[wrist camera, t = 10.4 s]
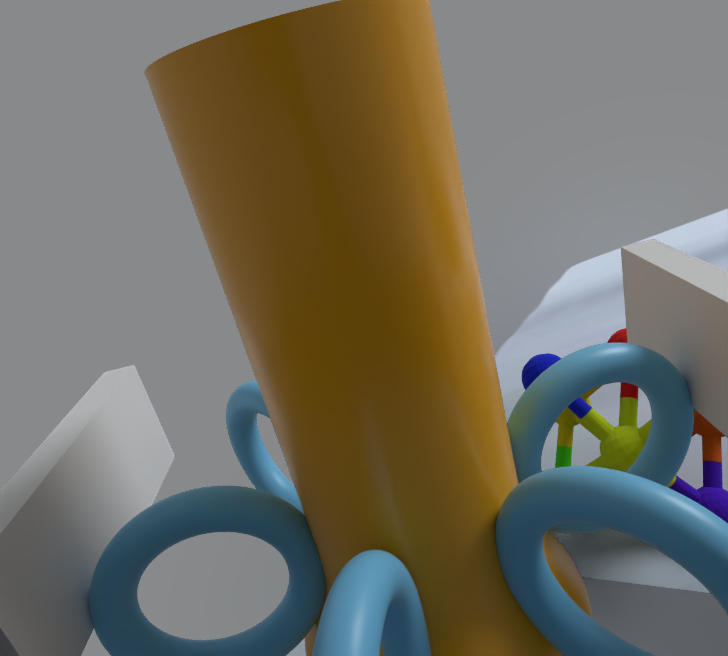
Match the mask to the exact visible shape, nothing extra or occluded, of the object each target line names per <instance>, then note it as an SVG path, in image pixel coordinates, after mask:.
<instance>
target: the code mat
mask: <svg viewBox="0 0 728 656" xmlns="http://www.w3.org/2000/svg"><path fill="white" fill-rule="evenodd" d="M582 579H583V581H584V584H585V587H586V590H587V593H588V597H589V602H590V606H591V611H592V617H593V619H594V620H595V621H596V622H597V623H599V624H600V625H601V626H603V627H604V628H605V629H607V630H608V631H610V632H611V633H613V634H614V635H616V636H618V637H619V638H621V639H623V640H624V641H626V642H628V643H630V644H632V645H634V646H636V647H638V648H640V649H642V650H644V651H646V652H649V653H651V654H654V655H656V656H728V616H727V614H726V612H725V611H724V609H723V608H722V606H721V605H720V604H719V602H718V601H717V600H716V599H715V597H714V596H713V595H712V594H711V593H704V592H696V591H688V590H680V589H672V588H664V587H656V586H648V585H640V584H632V583H624V582H616V581H608V580H600V579H592V578H584V577H582Z"/></svg>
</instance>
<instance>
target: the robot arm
mask: <svg viewBox="0 0 728 656" xmlns="http://www.w3.org/2000/svg"><path fill="white" fill-rule="evenodd" d="M621 257H622V271H623V285H624V299H625V314H626V328H627V342H628V343H630V344H636V345H640V346H643V347H646V348H649V349H651V350H653V351H655V352H657V353H659V354H661V355H662V356H664V357H665V358H666V359H668V360H669V361H670V362H671V363H672V364H673V365H674V366H675V367H676V368H677V369H678V371H679V372H680V373H681V375H682V376H683V378H684V380H685V382H686V384H687V386H688V388H689V392H690V396H691V402H692V407H693V408H694V409H695V410H696V411H698V412H699V413H700V414H701V415H702V416H703V417H704V418H706V419H707V420H708V421H709V422H710V423H711V424H712V425H714V426H715V427H716V428H717V429H718V430H719V431H720V432H722V433H723V434H724V435H725V436H726V437H727V438H728V271H725V270H723V269H721V268H718V267H716V266H714V265H712V264H709V263H707V262H705V261H703V260H700V259H698V258H696V257H693V256H691V255H689V254H687V253H684V252H682V251H680V250H677V249H675V248H673V247H671V246H668V245H666V244H664V243H662V242H659V241H657V240H655V239H652V240H647V241H643V242H639V243H635V244H631V245H627V246H623V247H621ZM174 457H175V456H174V453H173V451H172V449H171V447H170V444H169V442H168V440H167V438H166V435H165V433H164V431H163V429H162V426H161V424H160V422H159V420H158V417H157V415H156V413H155V411H154V408H153V406H152V404H151V402H150V400H149V397H148V395H147V393H146V390H145V388H144V386H143V384H142V382H141V379H140V377H139V375H138V373H137V370H136V368H135V366H134V365H132V366H128V367H123V368H119V369H115V370H111V371H107V372H104V374H103V375H102V376H101V377H100V378H99V379H98V380H97V381H96V383H95V384H94V385H93V386H92V387H91V388H90V389H89V390H88V392H87V393H86V394H85V395H84V396H83V397H82V398H81V399H80V401H79V402H78V403H77V404H76V405H75V406H74V408H73V409H72V410H71V411H70V412H69V413H68V414H67V416H66V417H65V418H64V419H63V420H62V421H61V422H60V423H59V425H58V426H57V427H56V428H55V429H54V430H53V431H52V433H51V434H50V435H49V436H48V437H47V438H46V439H45V440H44V442H43V443H42V444H41V445H40V446H39V447H38V448H37V450H36V451H35V452H34V453H33V454H32V455H31V457H30V458H29V459H28V460H27V461H26V462H25V463H24V464H23V465H22V467H21V468H20V469H19V470H18V471H17V472H16V473H15V475H14V476H13V477H12V478H11V479H10V480H9V481H8V483H7V484H6V485H5V486H4V487H3V488H2V489H1V490H0V656H81V654H82V652H83V650H84V648H85V646H86V644H87V641H88V639H89V637H90V635H91V633H92V631H93V629H94V626H93V623H92V620H91V615H90V608H89V593H90V585H91V581H92V577H93V573H94V570H95V568H96V565H97V563H98V561H99V559H100V557H101V555H102V553H103V551H104V550H105V548H106V547H107V545H108V544H109V542H110V541H111V540H112V538H113V537H114V536H115V535H116V534H117V532H118V531H119V530H120V529H121V528H122V527H123V526H124V525H125V524H127V523H128V522H129V521H130V520H131V519H132V518H134V517H135V516H136V515H138V514H139V513H140V512H142V511H143V510H145V509H146V508H148V507H150V506H152V504H153V501H154V499H155V497H156V495H157V493H158V491H159V489H160V487H161V485H162V482H163V480H164V478H165V476H166V474H167V472H168V470H169V467H170V465H171V463H172V461H173V459H174Z"/></svg>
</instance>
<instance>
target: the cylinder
mask: <svg viewBox="0 0 728 656" xmlns="http://www.w3.org/2000/svg"><path fill="white" fill-rule="evenodd" d="M145 75H146V78H147V80H148V83H149V86H150V89H151V91H152V94H153V97H154V100H155V102H156V105H157V108H158V111H159V113H160V116H161V119H162V121H163V124H164V127H165V129H166V132H167V135H168V138H169V141H170V143H171V146H172V149H173V152H174V154H175V157H176V160H177V163H178V165H179V168H180V171H181V174H182V176H183V179H184V182H185V185H186V187H187V190H188V193H189V195H190V198H191V201H192V204H193V206H194V209H195V212H196V215H197V218H198V220H199V223H200V226H201V229H202V231H203V234H204V237H205V240H206V242H207V245H208V248H209V251H210V253H211V256H212V259H213V262H214V264H215V267H216V270H217V273H218V275H219V278H220V281H221V283H222V286H223V289H224V292H225V295H226V297H227V300H228V303H229V306H230V308H231V311H232V314H233V317H234V320H235V322H236V325H237V328H238V330H239V333H240V336H241V339H242V342H243V344H244V347H245V350H246V352H247V355H248V358H249V361H250V364H251V366H252V369H253V372H254V375H255V377H256V380H255V381H250V382H247V383H244V384H243V385H241V386H239V387H238V388H237V389H236V390H235V391H234V392H233V394H232V395H231V397H230V399H229V402H228V405H227V410H226V423H227V429H228V434H229V438H230V441H231V444H232V447H233V449H234V452H235V454H236V456H237V458H238V460H239V462H240V464H241V466H242V468H243V469H244V471H245V473H246V474H247V476H248V478H249V479H250V480H251V482H252V483H253V484H254V486H255V488H256V489H252V488H247V487H239V486H211V487H203V488H198V489H193V490H189V491H185V492H182V493H179V494H176V495H173V496H170V497H168V498H165V499H163V500H161V501H159V502H157V503H155V504H153V505H152V506H150V507H148V508H146V509H145V510H143V511H142V512H140V513H139V514H138V515H136V516H135V517H134V518H132V519H131V520H130V521H129V522H128V523H127V524H125V525H124V526H123V527H122V528H121V529H120V530H119V531H118V532H117V534H116V535H115V536H114V537H113V538H112V540H111V541H110V542H109V544H108V545H107V547H106V548H105V550H104V551H103V553H102V555H101V557H100V559H99V561H98V563H97V565H96V568H95V570H94V573H93V577H92V581H91V585H90V593H89V608H90V615H91V620H92V623H93V626H94V629H95V632H96V634H97V636H98V638H99V640H100V641H101V643H102V645H103V646H104V647H105V649H106V650H107V651H108V652H109V654H110V655H111V656H286V655H287V654H288V653H289V652H290V651H292V650H293V649H294V648H295V647H296V646H297V645H298V644H299V643H300V642H301V641H302V640H303V639H304V638H305V650H306V656H656V655H654V654H651V653H649V652H646V651H644V650H642V649H640V648H638V647H636V646H634V645H632V644H630V643H628V642H626V641H624V640H623V639H621V638H619V637H618V636H616V635H614V634H613V633H611V632H610V631H608V630H607V629H605V628H604V627H603V626H601V625H600V624H599V623H597V622H596V621H595V620H594V619H593V617H592V611H591V606H590V602H589V597H588V593H587V590H586V587H585V584H584V581H583V579H582V577H581V575H580V573H579V570H578V569H577V567H576V565H575V563H574V561H573V559H572V558H571V556H570V555H569V553H568V552H567V551H566V549H565V548H564V547H563V546H562V544H561V543H560V542H559V541H558V540H557V539H556V538H555V536H554V535H553V534H552V533H551V532H550V531H549V530H553V531H556V532H561V533H568V534H584V533H592V532H597V531H601V530H605V529H608V528H611V529H614V530H617V531H620V532H623V533H625V534H628V535H630V536H632V537H635V538H637V539H639V540H641V541H643V542H645V543H647V544H648V545H650V546H652V547H654V548H656V549H657V550H659V551H660V552H662V553H664V554H665V555H667V556H668V557H670V558H671V559H673V560H674V561H675V562H677V563H678V564H679V565H681V566H682V567H683V568H685V569H686V570H687V571H688V572H689V573H691V574H692V575H693V576H694V577H695V578H696V579H697V580H698V581H699V582H701V583H702V584H703V585H704V586H705V587H706V588H707V590H708V591H709V592H710V593H711V594H712V595H713V596H714V597H715V599H716V600H717V601H718V602H719V604H720V605H721V606H722V608H723V609H724V611H725V612H726V614H727V616H728V523H726V522H725V521H724V520H722V519H721V518H720V517H718V516H717V515H715V514H714V513H712V512H711V511H709V510H708V509H706V508H705V507H703V506H701V505H700V504H698V503H696V502H695V501H693V500H691V499H690V498H688V497H686V496H684V495H682V494H680V493H678V492H676V491H674V490H672V489H670V488H668V487H667V486H668V485H669V484H670V482H671V481H672V479H673V478H674V477H675V475H676V473H677V472H678V470H679V468H680V466H681V465H682V463H683V460H684V458H685V456H686V453H687V451H688V448H689V445H690V441H691V437H692V432H693V423H694V411H693V407H692V402H691V396H690V392H689V388H688V386H687V384H686V382H685V380H684V378H683V376H682V375H681V373H680V372H679V371H678V369H677V368H676V367H675V366H674V365H673V364H672V363H671V362H670V361H669V360H668V359H666V358H665V357H664V356H662V355H661V354H659V353H657V352H655V351H653V350H651V349H649V348H646V347H643V346H640V345H636V344H630V343H604V344H598V345H594V346H590V347H587V348H584V349H581V350H578V351H576V352H574V353H571V354H569V355H567V356H566V357H564V358H562V359H560V360H559V361H557V362H556V363H554V364H553V365H551V366H550V367H549V368H548V369H546V370H545V371H544V372H543V373H542V374H540V375H539V376H538V377H537V378H536V379H535V380H534V381H533V382H532V384H531V385H530V386H529V387H528V388H527V389H526V391H525V392H524V393H523V395H522V396H521V398H520V399H519V401H518V402H517V404H516V406H515V407H514V409H513V411H512V413H511V415H510V417H509V420H508V422H507V421H506V416H505V411H504V406H503V400H502V395H501V389H500V384H499V379H498V373H497V368H496V362H495V357H494V352H493V346H492V341H491V335H490V330H489V324H488V320H487V314H486V308H485V303H484V297H483V292H482V286H481V281H480V275H479V270H478V264H477V259H476V253H475V248H474V242H473V237H472V232H471V226H470V220H469V215H468V209H467V204H466V198H465V193H464V188H463V182H462V176H461V171H460V165H459V160H458V154H457V149H456V143H455V138H454V133H453V127H452V122H451V116H450V110H449V105H448V99H447V93H446V88H445V82H444V77H443V71H442V66H441V61H440V55H439V49H438V44H437V38H436V33H435V28H434V23H433V16H432V11H431V5H430V0H341V1H336V2H331V3H327V4H323V5H318V6H314V7H310V8H306V9H302V10H298V11H294V12H290V13H286V14H283V15H279V16H275V17H272V18H269V19H265V20H261V21H258V22H255V23H251V24H249V25H245V26H242V27H238V28H236V29H233V30H230V31H226V32H224V33H221V34H218V35H215V36H212V37H209V38H206V39H204V40H201V41H199V42H196V43H193V44H191V45H188V46H186V47H183V48H181V49H179V50H176V51H174V52H172V53H170V54H168V55H166V56H164V57H162V58H160V59H158V60H157V61H155V62H153V63H152V64H151V65H149V66H148V67H147V68H146V70H145ZM615 382H625V383H630V384H633V385H635V386H637V387H639V388H640V389H641V390H642V391H643V392H644V393H645V394H646V396H647V398H648V400H649V402H650V406H651V412H652V421H651V428H650V432H649V436H648V439H647V441H646V444H645V446H644V448H643V450H642V451H641V453H640V455H639V456H638V458H637V459H636V461H635V462H634V463H633V464H632V466H631V467H630V468H629V469H628V470H627V471H626V472H622V471H618V470H613V469H607V468H601V467H592V466H567V467H559V468H553V469H549V470H545V471H542V470H541V455H542V450H543V446H544V443H545V440H546V437H547V435H548V433H549V431H550V429H551V427H552V426H553V424H554V423H555V421H556V420H557V418H558V417H559V416H560V414H561V413H562V412H563V411H564V410H565V409H566V408H567V407H568V406H569V405H570V404H571V403H572V402H573V401H575V400H576V399H577V398H578V397H580V396H581V395H583V394H584V393H586V392H588V391H590V390H592V389H594V388H596V387H598V386H601V385H605V384H609V383H615ZM257 413H260V414H263V415H265V416H267V417H268V418H270V419H271V422H272V424H273V427H274V430H275V433H276V436H277V438H278V441H279V444H280V446H281V449H282V452H283V455H284V458H285V461H286V463H287V466H288V469H289V472H290V475H291V477H292V480H293V483H294V485H293V484H291V482H290V481H289V480H288V479H287V478H286V477H285V476H284V475H283V474H282V472H281V471H280V470H279V469H278V467H277V466H276V464H275V463H274V461H273V460H272V458H271V457H270V455H269V453H268V452H267V450H266V448H265V446H264V444H263V442H262V439H261V437H260V433H259V430H258V426H257ZM213 532H237V533H243V534H248V535H251V536H254V537H257V538H260V539H262V540H264V541H266V542H267V543H269V544H270V545H272V546H273V547H275V548H276V549H277V550H278V551H279V552H280V553H281V555H282V556H283V558H284V559H285V561H286V563H287V565H288V569H289V575H290V576H289V586H288V589H287V592H286V594H285V596H284V598H283V600H282V601H281V603H280V604H279V606H278V607H277V608H276V609H275V610H274V612H273V613H271V615H269V616H268V617H267V618H266V619H265V620H263V621H262V622H260V623H259V624H257V625H256V626H254V627H252V628H250V629H249V630H246V631H244V632H242V633H239V634H237V635H233V636H230V637H226V638H221V639H215V640H189V639H183V638H179V637H175V636H173V635H169V634H167V633H165V632H163V631H161V630H160V629H158V628H157V627H155V626H154V625H153V624H152V623H150V622H149V621H148V619H147V618H146V617H145V616H144V614H143V613H142V611H141V609H140V607H139V604H138V599H137V588H138V584H139V581H140V578H141V576H142V574H143V572H144V571H145V569H146V568H147V566H148V565H149V564H150V563H151V562H152V560H153V559H154V558H156V557H157V556H158V555H159V554H160V553H161V552H163V551H164V550H166V549H167V548H169V547H171V546H172V545H174V544H176V543H178V542H180V541H183V540H185V539H187V538H190V537H194V536H197V535H201V534H206V533H213Z"/></svg>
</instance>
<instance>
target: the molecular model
mask: <svg viewBox="0 0 728 656" xmlns="http://www.w3.org/2000/svg"><path fill="white" fill-rule="evenodd" d="M608 343H628V342H627V328H626V329H622V330H619V331H617V332H616V333H614V334H613V335H612V336H611V338H610V339H609V341H608ZM560 359H561V358H560V357H558V356H556V355H553V354H548V353H547V354H540V355H536V356H534V357H533V358H531V359H530V360H529V361H528V362H527V364H526V365H525V366H524V368H523V371H522V383H523V386H524V388H525V390H526V389H527V388H528V387H529V386H530V385H531V384H532V382H533V381H534V380H535V379H536V378H537V377H538V376H539V375H540V374H542V373H543V372H544V371H545V370H546V369H548V368H549V367H550V366H551V365H553V364H554V363H556V362H557V361H559V360H560ZM601 386H602V385H601ZM601 386H598V387H596V388H594V389H592V390H590V391H588V392H586V393H584V394H583V395H581V396H580V397H578V398H577V399H576V400H575V401H573V402H572V403H571V404H570V405H569V406H568V407H567V408H566V409H565V410H564V411H563V412H562V413H561V414H560V416H559V417H558V418H557V420H556V421H555V422H556V423H558V424H559V428H558V440H557V452H556V464H555V468H559V467H567V466H571V454H572V441H573V428H574V426H575V425H578V424H579V423H580V424H581V425H582V426H583V427H585V428H586V429H587V430H588V431H590V432H591V433H592V434H593V435H594V436H596V437H597V438H598V439H599V440H601V442H600V453H601V456H600V457H599V458H597V459H595V460H594V461H592V462H591V463H589V464H588V465H586V466H592V467H601V468H607V469H613V470H618V471H622V472H626V471H627V470H628V469H629V468H630V467H631V466H632V464H633V463H634V462H635V461H636V459H637V458H638V456H639V455H640V453H641V451H642V450H643V448H644V446H645V444H646V441H647V439H648V436H649V432H650V428H651V421H652V419H651V420H650V421H649V422H647V423H646V424H645V425H644V426H642V427H641V428H640V429H639V428H637V407H638V387H637V386H635V385H633V384H630V383H625V382H621V393H620V414H619V426H617V427H613V426H612V425H610V424H609V423H608V422H607V421H606V420H605V419H604V418H603V417H602V416H601V415H599V414H598V413H597V412H596V411H595V410H594V409H593V408H592V407H591V406H590V400H589V396H590V395H592V394H593V393H594V392H595V391H596V390H597V389H599V388H600V387H601ZM693 411H694V423H693V432H692V436H693V435H695V434H696V433H697V434H699V435H701V436H702V451H703V487H701V488H699V489H697V490H696V489H694V488H693V487H692V486H690V485H689V484H687V483H686V482H685V481H683V480H682V479H680V478H679V477H678V476H676V475H675V477H674V478H673V479H672V481H671V482H670V484H669V485H668V486H667V487H668V488H670V489H672V490H674V491H676V492H678V493H680V494H682V495H684V496H686V497H688V498H690V499H691V500H693V501H695V502H696V503H698V504H700V505H701V506H703V507H705V508H706V509H708V510H709V511H711V512H712V513H714V514H715V515H717V516H718V517H720V518H721V519H722V520H724V521H725V522H726V523H728V491H726V490H724V489H722V453H721V437H724V436H725V435H724V434H723V433H722V432H720V431H719V430H718V429H717V428H716V427H715V426H714V425H712V424H711V423H710V422H709V421H708V420H707V419H706V418H704V417H703V416H702V415H701V414H700V413H699V412H698V411H696V410H695V409H694V408H693Z"/></svg>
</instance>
